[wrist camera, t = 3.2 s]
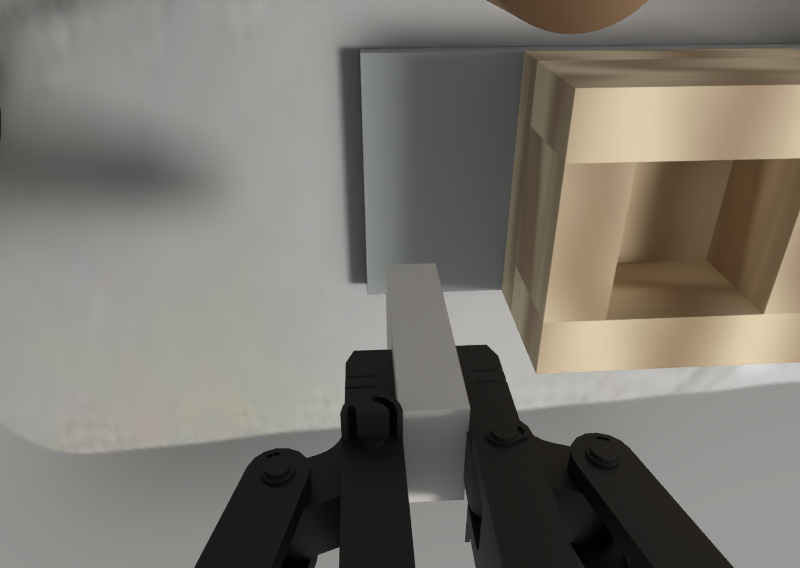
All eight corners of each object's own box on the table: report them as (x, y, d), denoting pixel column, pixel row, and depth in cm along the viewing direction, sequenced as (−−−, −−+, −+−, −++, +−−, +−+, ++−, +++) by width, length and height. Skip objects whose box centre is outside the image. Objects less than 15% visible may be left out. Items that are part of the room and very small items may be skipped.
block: (501, 290, 30) (536, 373, 24) (524, 51, 25) (575, 88, 19) (720, 282, 31) (803, 361, 25) (790, 48, 25) (916, 82, 20)
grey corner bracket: (366, 283, 31) (374, 444, 21) (359, 48, 25) (365, 122, 16) (923, 264, 32) (1162, 405, 23) (1030, 40, 27) (1403, 103, 17)
